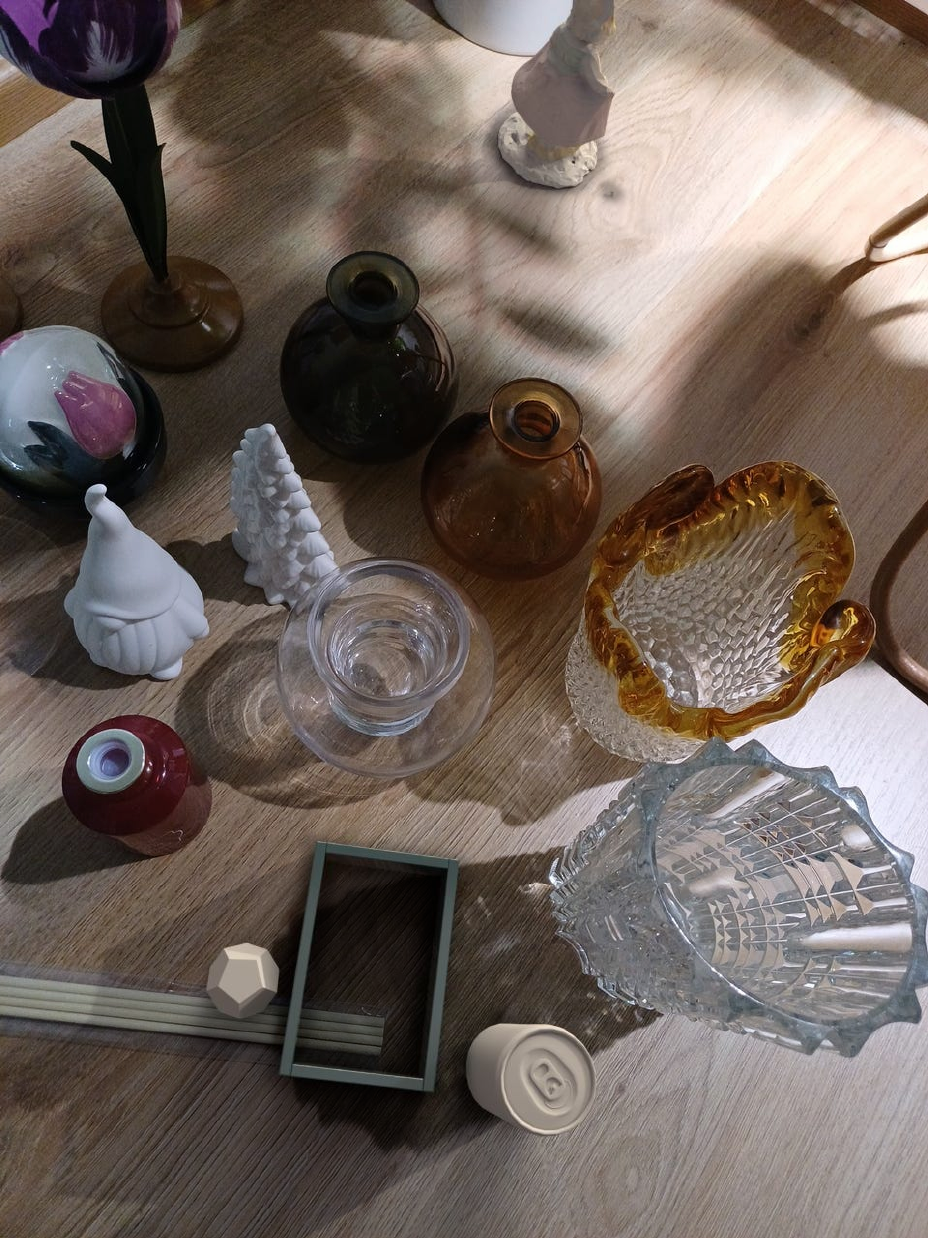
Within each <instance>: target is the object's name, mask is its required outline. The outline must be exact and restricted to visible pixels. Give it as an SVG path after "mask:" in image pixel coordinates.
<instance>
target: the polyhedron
mask: <svg viewBox="0 0 928 1238" xmlns="http://www.w3.org/2000/svg"><path fill="white" fill-rule="evenodd" d="M279 976H280V968H279V967H278V965H277V963H276V962H275V960H274V958H273V957H272V955H271V954H270V952H269V950H268V949H267V948H264V947H262V946H258V945H256V944H252V943H249V942H244V943H240V944H236V945H231V946H227V947H224V948H223V949H222V950H221V952H219V954H218V956H217V957H216V959H215V960H214V961H213V963H212V964H211V965H210V967H209V970H208V977H207V983H206V990H205V992H206V993H207V995H208V996H209V998H210V999H211V1001H212V1003H213V1004H214V1005H215V1007H216V1009H217V1010H218V1011H219V1012H221V1013H223V1014H225V1015H228V1016H231V1017H234V1018H236V1019H239V1020H241V1019H243V1018H247V1017H251V1016H253V1015H257V1014H260V1013H263V1012H264V1011H265V1009H266V1008H267V1007H268V1006H269V1004H270V1003H271V1001H272V1000H273V999H274V997H275V996H276V994H278V987H279V985H278V984H279Z"/></svg>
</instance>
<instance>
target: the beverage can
mask: <svg viewBox="0 0 928 1238" xmlns="http://www.w3.org/2000/svg"><path fill="white" fill-rule="evenodd" d="M465 1076H466V1080H467V1081H466V1082H467V1086H468V1089H469V1091H470V1093H471V1095H472V1097H473V1099H474V1100H475V1102H476V1103H477V1104H478V1106H480V1107H481V1108H482V1109H484V1110H486V1111H487V1112H489V1113H491V1114H493V1115H494V1116H496V1117H498V1118H499V1119H501V1120H503V1121H504V1122H506V1123H508V1124H510V1125H512V1126H514V1127H516V1128H517V1129H519V1130H521V1131H523V1132H525V1133H527V1134H530V1135H533V1136H538V1137H540V1138H541V1137H542V1138H543V1137H557V1136H559V1135H562V1134H564V1133H568V1132H569V1131H571V1130H573V1129H574V1128H575V1127H577V1126H578V1125H580V1124H581V1123H582V1122H583V1120H584V1119H585V1118H586V1116H588V1114H589V1113H590V1110H591V1108H592V1105H593V1104H594V1101H595V1098H596V1091H597V1086H598V1085H597V1072H596V1068H595V1065H594V1062H593V1059H592V1057H591V1055H590V1053H589V1051H588V1049H586V1047H585V1046H584V1044H583V1043H582V1041H580V1040H579V1038H577V1037H576V1036H575V1035H574V1034H573V1033H571V1032H569V1031H567V1030H566V1029H564V1028H562V1027H560V1026H555V1025H552V1024H539V1023H538V1024H535V1023H534V1024H533V1023H532V1024H531V1023H530V1024H529V1023H528V1024H522V1023H520V1024H519V1023H497V1024H494V1025H491V1026H489V1027H487V1028H485V1029H484V1030H482V1031H481V1032H479V1034H478V1035H477V1036H476V1037H475V1038H474V1040H472V1042H471V1045H470V1047H469V1049H468V1051H467V1055H466V1062H465Z"/></svg>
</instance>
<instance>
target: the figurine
mask: <svg viewBox="0 0 928 1238" xmlns="http://www.w3.org/2000/svg"><path fill="white" fill-rule="evenodd" d="M616 30H617V27H616V0H572V5H571V9H570V13H569V15H568V17H567V18H566V20H565V21H563V22H562V23H560V24H559V25H558V26H557V27H556V28H555V29H554V30H553V31H552V33H551V36H550V37H549V39H548V41H547V42H545V44H544V45H543V46H542V47H541V48H540V50H539V51H537V53H535V54H534V55H533V57H531V58H529V59H527V61H525V62H524V63H522V65H521V66H520V67H519V68H518V69H517V70H516V72H515V73H514V75H513V78H512V82H511V85H510V86H511V89H510V95H511V96H510V97H511V100H512V103H513V106H514V108H515V110H516V112H513V113H512V114H511V115H509V116H508V117H507V118H506V119H505V121H504V122H503V123H502V124H501V126H500V127H499V130H498V135H497V138H498V140H497V147H498V149H499V151H500V154H501V158H502V159H503V160H504V161H505V162H506V163H507V164H509V165H510V167H512V169H513V170H514V171H515V174H516V175H519V176H520V177H522V179H524V181H525V180H526V181H527V182H532V183H534V184H539V185H544V186H547V187H554V188H555V189H561V188H566V187H567V188H569V187H576V186H578V185H579V184H580V183H582V182H583V180H584V176H585V175H588V174H589V173H590V171H589V170H591V171H593V170H595V168H596V166H597V159H598V156H597V154H598V147H597V142H596V140H598V139H601V138H603V137H605V136H606V135H605V134H606V131H607V125H608V121H609V120H608V119H609V114H610V110H611V106H612V102H613V100H614V97H615V95H616V89H615V88H614V87H610V85H609V81H608V80H609V79H608V76H606V75H604V74H603V72H602V65H601V59H600V54H599V51H598V46H599V45H602V44H603V43H605V42H606V41H607V40H608V38H610V37H611V36H612V35H613V34H614V33H615V32H616ZM573 162H574V163H573ZM610 194H611V195H613V196H614V195H615V192H614V191H613V190H612V189H611V190H610Z"/></svg>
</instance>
